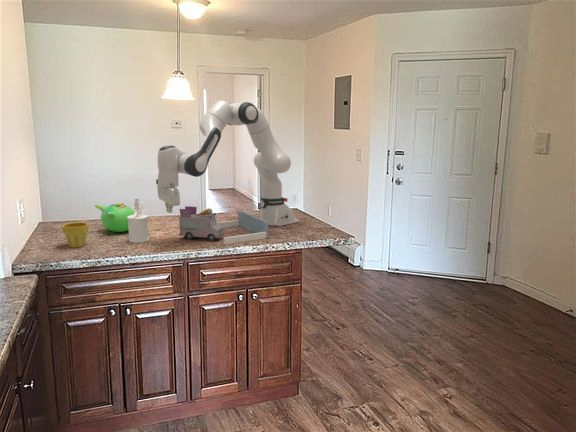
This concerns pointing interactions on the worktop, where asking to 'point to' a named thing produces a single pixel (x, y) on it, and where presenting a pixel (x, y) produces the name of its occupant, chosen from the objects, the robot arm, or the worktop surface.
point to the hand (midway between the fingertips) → (169, 212)
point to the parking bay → (249, 223)
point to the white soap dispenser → (138, 225)
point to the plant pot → (75, 233)
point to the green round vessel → (115, 216)
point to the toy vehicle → (199, 224)
